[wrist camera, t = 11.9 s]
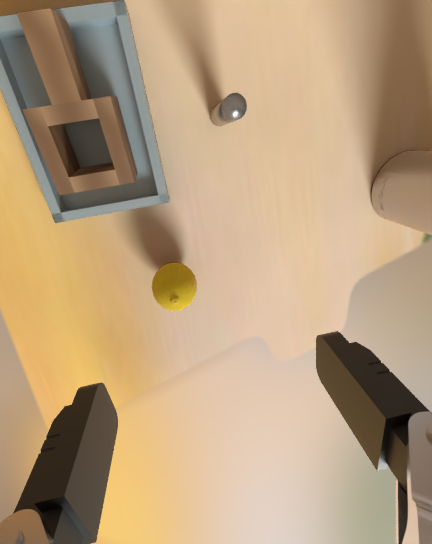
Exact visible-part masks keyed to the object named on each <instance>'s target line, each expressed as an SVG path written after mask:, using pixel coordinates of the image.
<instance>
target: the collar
mask: <svg viewBox="0 0 432 544" xmlns="http://www.w3.org/2000/svg"><path fill="white" fill-rule="evenodd" d="M17 15H18V18H19V21H20V23H21V26H22V28H23V31H24V34H25V36H26V39H27V41H28V44H29V47H30V49H31V52H32V54H33V57H34V60H35V62H36V65H37V67H38V70H39V73H40V75H41V78H42V81H43V83H44V86H45V88H46V91H47V94H48V96H49V99H50V101H51V104H52V105H49V106H43V107H36V108H29V109H23V112H24V115H25V117H26V119H27V122H28V124H29V126H30V128H31V131H32V133H33V135H34V138H35V140H36V142H37V144H38V147H39V149H40V151H41V154H42V156H43V158H44V160H45V163H46V165H47V167H48V170H49V172H50V174H51V176H52V179H53V181H54V183H55V186H56V188H57V190H58V193H59V195H64V194H70V193H76V192H82V191H87V190H93V189H99V188H105V187H110V186H116V185H122V184H128V183H133V182H135V179H136V176H137V173H138V172H137V168H136V164H135V161H134V157H133V153H132V150H131V146H130V142H129V139H128V135H127V131H126V128H125V124H124V120H123V117H122V113H121V109H120V106H119V102H118V98H117V97H116V96H108V97H102V98H95V99H91V95H90V92H89V89H88V86H87V83H86V80H85V76H84V73H83V70H82V67H81V64H80V60H79V57H78V54H77V51H76V48H75V45H74V41H73V38H72V35H71V32H70V29H69V26H68V22H67V21H66V20H64V19H63V18H62V17H61V16H59V15H58V14H57V13H56V12H54V11H53V10H52V9H51V8H49V9H41V10H33V11H26V12H18V13H17ZM97 118H99V120H100V123H101V127H102V130H103V133H104V136H105V139H106V143H107V146H108V149H109V152H110V155H111V159H112V162H113V163H107V164H101V165H95V166H89V167H83V168H80V166H79V164H78V161H77V158H76V156H75V153H74V151H73V148H72V145H71V143H70V140H69V137H68V135H67V132H66V129H65V127H64V124H65V123H72V122H78V121H84V120H91V119H97Z"/></svg>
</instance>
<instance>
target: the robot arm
mask: <svg viewBox="0 0 432 544" xmlns="http://www.w3.org/2000/svg"><path fill="white" fill-rule="evenodd" d="M371 194H372V204H373V207H374V209H375V211H376V212H377V213H378V215H379V216H381V217H383V218H384V219H387V220H390V221H393V222H396V223H399V224H401V225H404V226H407V227H410V228H412V229H415V230H418V231H421V232H424V233H427V234H430V235H432V151H406V152H403V153H400V154H398V155H396V156H395V157H393V158H392V159H390V160H389V161H388V162H387V163H386V164H385V165H384V166H383V167H382V169H381V170H380V171H379V173H378V175H377V177H376V178H375V181H374V184H373V188H372V193H371ZM316 368H317V373H318V376H319V378H320V380H321V383H322V384H323V385H324V387H325V389H326V390H327V392H328V394H329V395H330V397H331V398H332V400H333V402H334V403H335V405H336V406H337V408H338V410H339V411H340V413H341V414H342V416H343V417H344V419H345V421H346V422H347V424H348V425H349V427H350V429H351V430H352V432H353V433H354V435H355V436H356V438H357V439H358V441H359V443H360V444H361V446H362V447H363V449H364V451H365V452H366V454H367V456H368V457H369V459H370V460H371V462H372V463H373V465H374V466H375V468H376V470H377V471H380V470H383V469H388V468H390V469H391V471H392V472H393V474H394V475H395V477H396V544H432V412H430V411H429V410H428V409H427V408H426V407H425V406H424V405H423V404H422V403H421V402H420V401H419V400H418V399H417V398H416V397H415V396H414V395H413V394H412V393H411V392H410V391H409V390H408V389H407V388H406V387H405V386H404V385H403V384H402V382H400V380H399V379H398V378H397V377H396V376H395V375H394V374H393V373H392V372H390V371H389V369H388V368H387V367H386V366H385V365H384V364H383V363H381V361H380V360H379V359H378V358H377V357H376V356H375V355H374V354H373V353H372V352H371V351H370V350H369V349H367V348H366V347H364V346H362V345H360V344H359V343H357V342H354V343H349V342H348V341H347V340H346V339H345V338H344V337H343V335H342V334H341V333H339V332H338V331H336V332H332V333H327V334H322V335H318V336H317V338H316ZM117 428H118V418H117V413H116V410H115V407H114V405H113V403H112V401H111V398H110V396H109V394H108V392H107V389H106V387H105V385H104V384H103V383H97V384H93V385H88V386H84V387H80V388H79V389H78V390H77V393H76V395H75V398H74V400H73V403H72V405H69V406H65V407H64V408H63V409H62V411H61V412H60V413H59V414H58V416H57V417H56V418H55V419H54V421H53V422H52V425H51V427H50V429H49V432H48V434H47V439H46V440H45V441H44V444H43V446H42V448H41V453H40V454H39V455H38V458H37V460H36V462H35V465H34V467H33V469H32V472H31V474H30V476H29V479H28V481H27V483H26V486H25V488H24V490H23V493H22V495H21V497H20V500H19V502H18V504H17V507H16V509H15V511H14V513H13V514H12V515H10V516H8V517H7V518H6V519H4V520H3V521H2V522H1V523H0V544H91V543H94V542H96V540H97V534H98V529H99V524H100V518H101V513H102V508H103V503H104V497H105V492H106V487H107V481H108V476H109V471H110V466H111V460H112V455H113V450H114V445H115V439H116V434H117Z"/></svg>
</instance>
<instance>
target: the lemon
mask: <svg viewBox="0 0 432 544" xmlns="http://www.w3.org/2000/svg"><path fill="white" fill-rule="evenodd" d="M152 290H153V295H154V297H155V299H156V301H157V302H158V303H159V304H160V305H161V306H162V307H163V308H165V309H168V310H173V311H175V310H181V309H184V308H185V307H187V306H188V305H189V304H190V303H191V302H192V300H193V299H194V297H195V293H196V279H195V276H194V274H193V273H192V271H191V270H190V269H189V268H188V267H187V266H185V265H183V264H181V263H168V264H166V265H164V266H162V267H161V268H160V269H159V270H158V271H157V272H156V274H155V276H154V278H153V282H152Z"/></svg>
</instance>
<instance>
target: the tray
mask: <svg viewBox="0 0 432 544" xmlns="http://www.w3.org/2000/svg"><path fill="white" fill-rule="evenodd" d="M52 10H53V11H54V12H56V13H57V14H58V15H59V16H61V17H62V18H63V19H64V20H66V21H67V22H68V26H69V29H70V32H71V35H72V38H73V41H74V45H75V48H76V51H77V54H78V57H79V60H80V64H81V67H82V70H83V73H84V76H85V80H86V83H87V86H88V89H89V92H90V95H91V99H95V98H102V97H108V96H116V97H117V98H118V102H119V106H120V109H121V113H122V117H123V120H124V124H125V128H126V131H127V135H128V139H129V142H130V146H131V150H132V153H133V157H134V161H135V164H136V168H137V172H138V173H137V176H136V179H135V182H133V183H128V184H122V185H116V186H110V187H105V188H99V189H93V190H87V191H82V192H76V193H70V194H64V195H59V193H58V190H57V188H56V186H55V183H54V181H53V179H52V176H51V174H50V172H49V170H48V167H47V165H46V163H45V160H44V158H43V156H42V154H41V151H40V149H39V147H38V144H37V142H36V140H35V138H34V135H33V133H32V131H31V128H30V126H29V124H28V122H27V119H26V117H25V115H24V112H23V109H29V108H36V107H43V106H49V105H52V104H51V101H50V99H49V96H48V94H47V91H46V88H45V86H44V83H43V81H42V78H41V75H40V73H39V70H38V67H37V65H36V62H35V60H34V57H33V54H32V52H31V49H30V47H29V44H28V41H27V39H26V36H25V34H24V31H23V28H22V26H21V23H20V21H19V18H18V15H17V14H14V15H6V16H0V89H1V91H2V94H3V96H4V99H5V101H6V103H7V106H8V108H9V111H10V113H11V116H12V118H13V121H14V123H15V126H16V128H17V130H18V133H19V135H20V138H21V140H22V143H23V145H24V148H25V150H26V153H27V155H28V157H29V160H30V162H31V165H32V167H33V170H34V172H35V175H36V177H37V180H38V182H39V184H40V187H41V189H42V192H43V194H44V197H45V199H46V202H47V204H48V206H49V209H50V211H51V214H52V216H53V219H54V221H55V223H58V222H63V221H69V220H75V219H80V218H86V217H91V216H97V215H102V214H108V213H113V212H119V211H124V210H130V209H135V208H141V207H146V206H152V205H157V204H163V203H168V202H169V196H168V191H167V186H166V182H165V177H164V173H163V168H162V164H161V159H160V155H159V150H158V146H157V141H156V136H155V132H154V127H153V123H152V118H151V114H150V109H149V105H148V100H147V95H146V91H145V86H144V82H143V77H142V73H141V68H140V64H139V59H138V55H137V50H136V45H135V41H134V36H133V32H132V27H131V23H130V18H129V14H128V10H127V7H126V4H125V1H124V0H120V1H113V2H105V3H98V4H90V5H82V6H75V7H67V8H60V9H52ZM64 127H65V129H66V132H67V135H68V137H69V140H70V143H71V145H72V148H73V151H74V153H75V156H76V158H77V161H78V164H79V166H80V168H83V167H89V166H95V165H101V164H107V163H113V162H112V159H111V155H110V152H109V149H108V146H107V143H106V139H105V136H104V133H103V130H102V127H101V123H100V120H99V118H97V119H91V120H84V121H78V122H72V123H65V124H64Z"/></svg>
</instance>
